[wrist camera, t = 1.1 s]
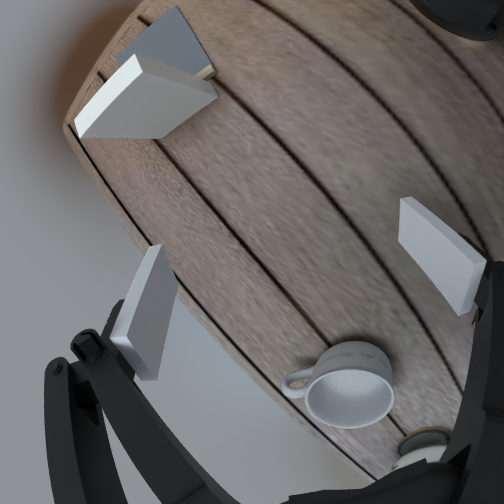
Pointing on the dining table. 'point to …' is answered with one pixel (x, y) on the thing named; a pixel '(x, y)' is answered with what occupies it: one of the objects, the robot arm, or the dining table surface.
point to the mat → (169, 44)
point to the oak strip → (206, 73)
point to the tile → (143, 101)
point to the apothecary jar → (422, 446)
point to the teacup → (346, 385)
